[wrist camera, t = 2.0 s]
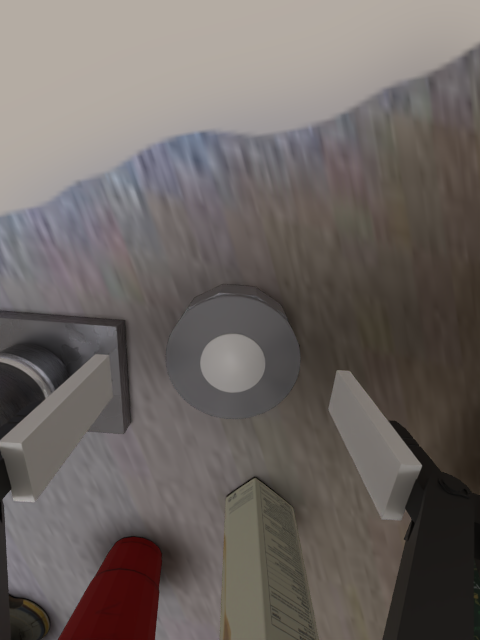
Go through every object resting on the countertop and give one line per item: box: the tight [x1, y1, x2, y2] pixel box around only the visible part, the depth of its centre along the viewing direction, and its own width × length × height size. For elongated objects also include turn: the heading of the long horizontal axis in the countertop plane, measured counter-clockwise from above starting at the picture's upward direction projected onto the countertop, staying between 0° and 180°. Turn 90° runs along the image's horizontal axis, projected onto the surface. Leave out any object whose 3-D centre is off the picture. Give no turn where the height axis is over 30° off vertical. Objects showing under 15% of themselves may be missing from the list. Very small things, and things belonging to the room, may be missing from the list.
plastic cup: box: [58, 537, 162, 640], centre depth 25 cm, size 11×11×12 cm
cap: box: [166, 284, 300, 419], centre depth 20 cm, size 9×9×4 cm
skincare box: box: [220, 478, 319, 640], centre depth 22 cm, size 6×4×12 cm
